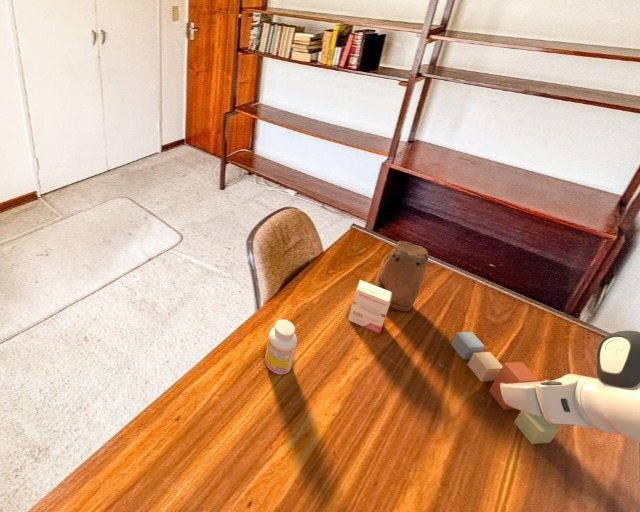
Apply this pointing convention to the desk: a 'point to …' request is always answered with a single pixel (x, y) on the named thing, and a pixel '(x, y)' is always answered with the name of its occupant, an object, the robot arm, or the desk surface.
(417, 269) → the brown tall rounded lump
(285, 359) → the supplement bottle
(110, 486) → the desk surface
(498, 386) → the tall block
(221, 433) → the desk surface
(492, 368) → the cube
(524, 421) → the cube
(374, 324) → the ink box
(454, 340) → the cube
